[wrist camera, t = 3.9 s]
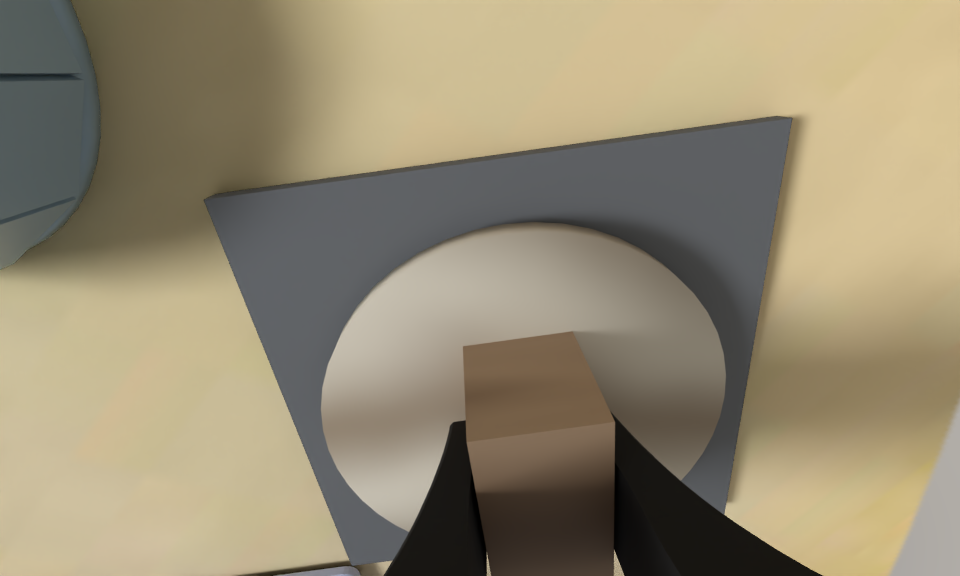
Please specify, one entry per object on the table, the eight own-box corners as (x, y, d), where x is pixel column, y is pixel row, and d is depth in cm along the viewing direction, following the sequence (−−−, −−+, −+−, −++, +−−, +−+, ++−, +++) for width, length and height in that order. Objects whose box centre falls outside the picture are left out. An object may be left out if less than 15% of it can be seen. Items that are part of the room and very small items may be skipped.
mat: (715, 503, 18) (723, 516, 18) (354, 551, 18) (351, 566, 18) (776, 115, 12) (792, 118, 11) (214, 194, 12) (203, 199, 11)
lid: (694, 508, 17) (767, 638, 13) (377, 551, 17) (355, 694, 13) (734, 192, 11) (877, 252, 8) (272, 256, 12) (182, 348, 8)
